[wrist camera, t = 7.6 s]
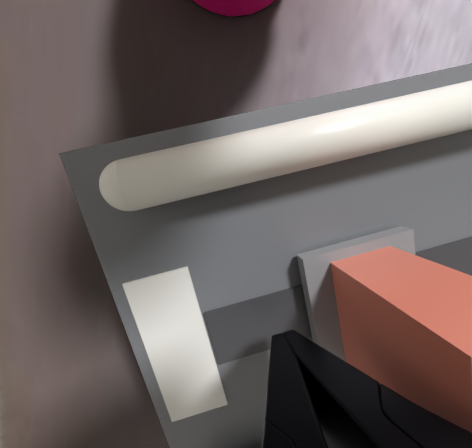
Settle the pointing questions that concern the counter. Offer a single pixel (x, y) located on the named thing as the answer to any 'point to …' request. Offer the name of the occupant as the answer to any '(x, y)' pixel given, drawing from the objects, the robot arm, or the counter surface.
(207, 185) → the box
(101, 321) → the counter surface
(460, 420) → the lever
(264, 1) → the pepper mill
